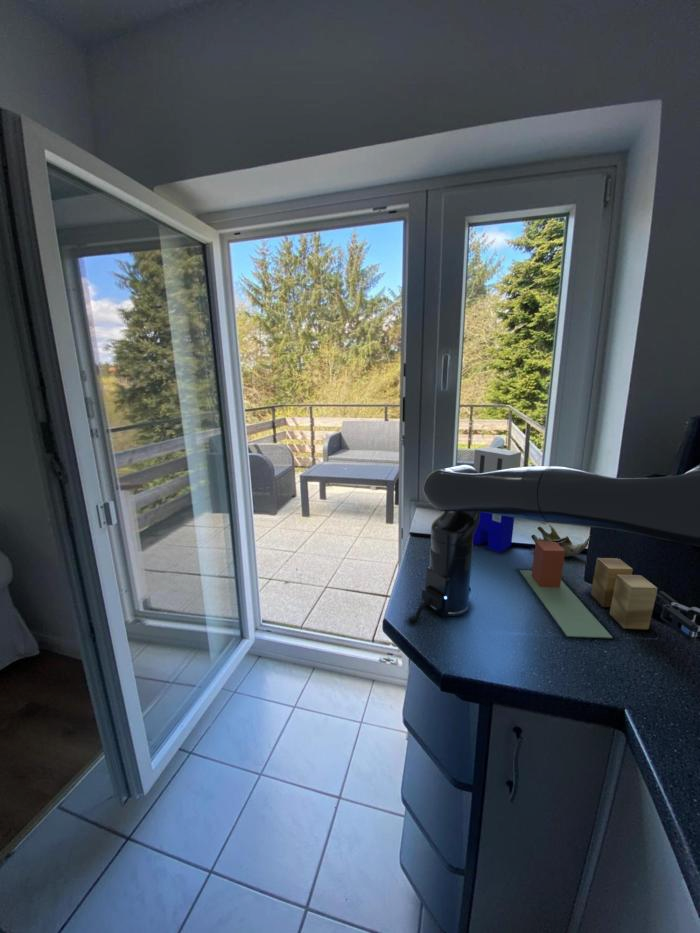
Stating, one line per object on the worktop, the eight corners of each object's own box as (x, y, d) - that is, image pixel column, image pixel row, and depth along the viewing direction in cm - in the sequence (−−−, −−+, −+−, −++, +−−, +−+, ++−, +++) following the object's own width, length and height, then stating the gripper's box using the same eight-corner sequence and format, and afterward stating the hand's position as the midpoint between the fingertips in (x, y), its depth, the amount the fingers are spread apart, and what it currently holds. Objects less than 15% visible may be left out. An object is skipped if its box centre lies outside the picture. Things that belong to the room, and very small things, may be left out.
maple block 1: (625, 608, 85) (633, 569, 83) (602, 607, 86) (609, 568, 83) (611, 595, 90) (618, 558, 88) (590, 595, 90) (596, 557, 88)
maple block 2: (648, 630, 78) (657, 588, 76) (623, 629, 78) (632, 587, 76) (632, 615, 83) (640, 575, 80) (609, 614, 83) (616, 574, 81)
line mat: (612, 638, 76) (612, 637, 76) (566, 636, 76) (566, 635, 76) (553, 572, 101) (553, 571, 101) (519, 571, 101) (519, 570, 101)
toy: (438, 529, 128) (443, 444, 121) (450, 524, 132) (455, 441, 125) (539, 568, 103) (553, 462, 95) (550, 560, 107) (564, 458, 100)
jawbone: (596, 553, 100) (576, 519, 102) (541, 568, 110) (524, 537, 111) (600, 543, 107) (581, 511, 109) (548, 557, 117) (532, 528, 118)
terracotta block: (560, 587, 93) (565, 550, 91) (539, 586, 93) (544, 550, 91) (550, 576, 98) (555, 541, 96) (531, 576, 98) (535, 541, 96)
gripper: (844, 643, 49) (730, 578, 65) (729, 639, 50) (645, 576, 66) (827, 690, 51) (721, 615, 67) (716, 685, 52) (637, 613, 68)
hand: (683, 596), depth 66 cm, fingers open, 8 cm apart
